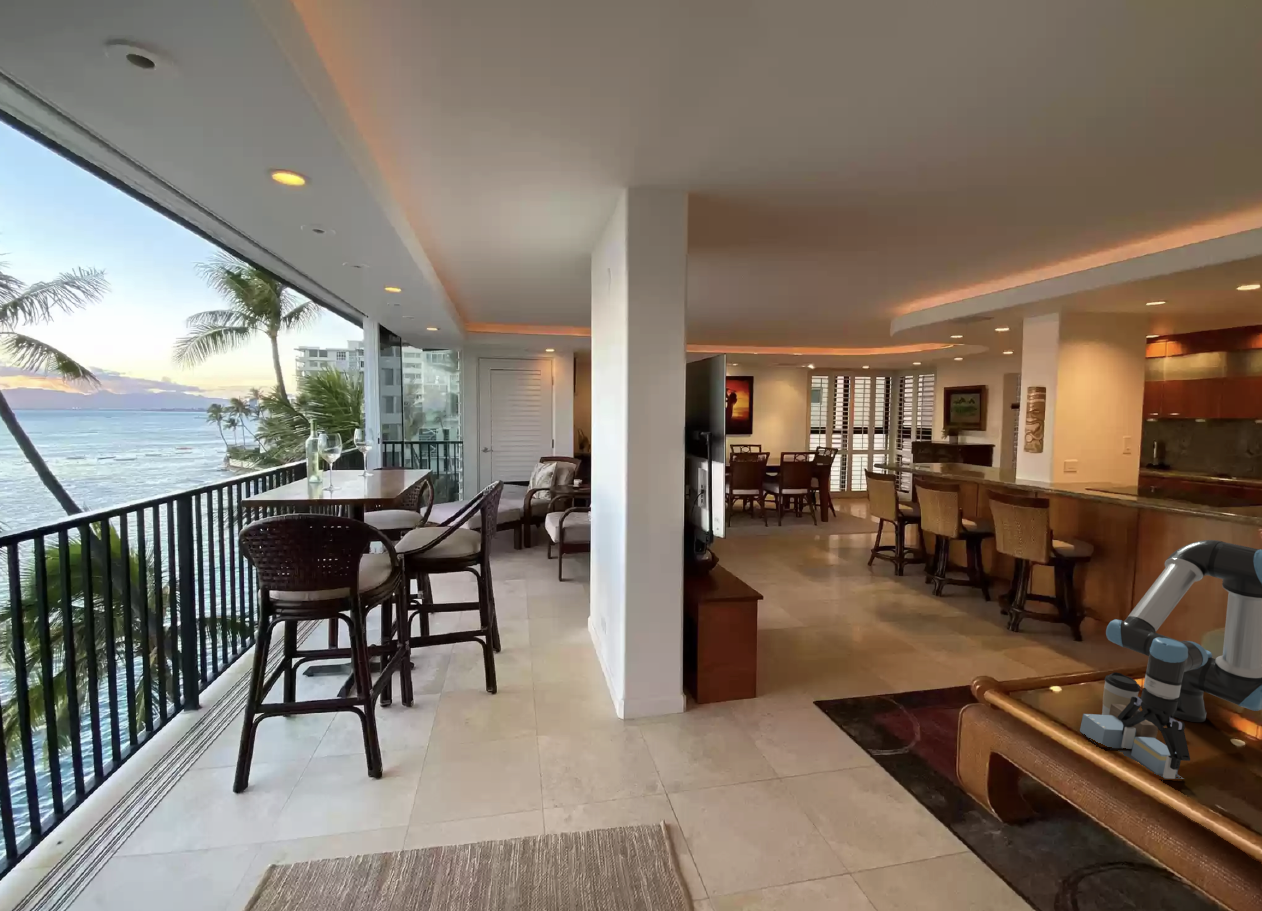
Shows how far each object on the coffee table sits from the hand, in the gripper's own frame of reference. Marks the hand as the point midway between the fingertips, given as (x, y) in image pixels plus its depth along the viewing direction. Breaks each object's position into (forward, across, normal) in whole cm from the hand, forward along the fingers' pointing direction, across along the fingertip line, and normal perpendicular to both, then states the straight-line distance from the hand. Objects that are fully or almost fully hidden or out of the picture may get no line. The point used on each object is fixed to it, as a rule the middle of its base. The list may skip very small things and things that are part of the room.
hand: (1146, 762), depth 165 cm
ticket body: (+1, -12, +1) cm, 13 cm away
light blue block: (+1, 0, +3) cm, 3 cm away
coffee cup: (+1, -24, +13) cm, 28 cm away
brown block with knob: (+1, -12, +6) cm, 14 cm away
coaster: (+1, 0, 0) cm, 2 cm away
